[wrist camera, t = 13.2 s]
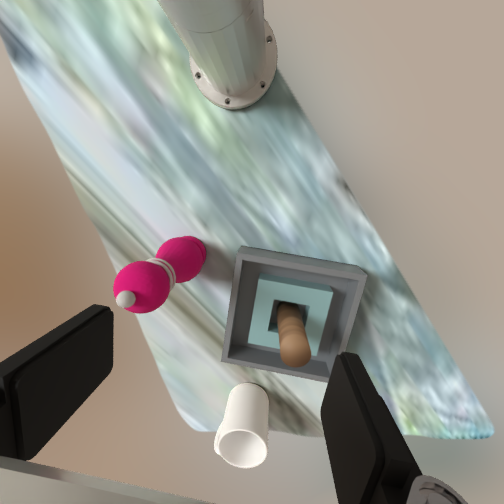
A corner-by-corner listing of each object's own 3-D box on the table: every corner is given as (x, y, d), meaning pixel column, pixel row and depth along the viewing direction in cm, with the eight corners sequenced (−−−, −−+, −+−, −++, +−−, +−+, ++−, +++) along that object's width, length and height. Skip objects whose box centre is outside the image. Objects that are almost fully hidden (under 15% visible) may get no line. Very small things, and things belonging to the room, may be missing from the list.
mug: (234, 428, 52) (224, 484, 42) (208, 402, 51) (192, 454, 41) (277, 401, 49) (277, 454, 39) (250, 374, 48) (244, 421, 38)
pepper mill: (215, 243, 42) (166, 288, 23) (200, 278, 44) (143, 346, 25) (177, 226, 42) (96, 255, 23) (164, 261, 44) (78, 317, 25)
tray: (241, 245, 42) (236, 252, 37) (356, 265, 41) (367, 275, 36) (226, 344, 47) (221, 361, 42) (329, 364, 46) (335, 384, 41)
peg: (278, 298, 43) (282, 338, 31) (300, 301, 42) (314, 343, 31) (275, 318, 44) (278, 365, 32) (297, 321, 43) (308, 369, 32)
